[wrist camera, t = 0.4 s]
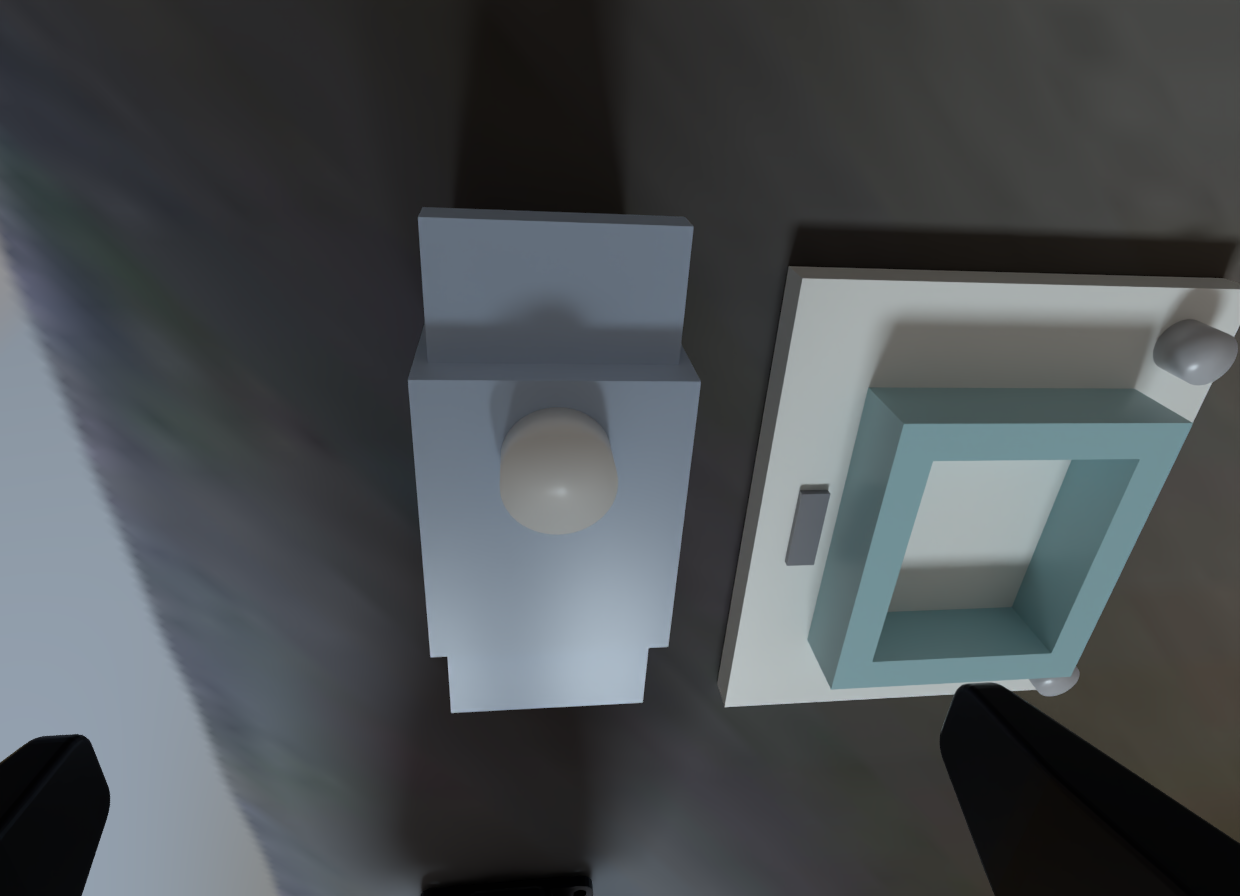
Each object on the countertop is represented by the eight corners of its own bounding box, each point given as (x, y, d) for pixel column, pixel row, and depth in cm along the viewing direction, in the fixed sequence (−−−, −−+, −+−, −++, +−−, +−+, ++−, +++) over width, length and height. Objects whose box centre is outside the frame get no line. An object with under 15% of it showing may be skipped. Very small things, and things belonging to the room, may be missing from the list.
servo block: (609, 494, 21) (665, 764, 13) (462, 496, 20) (433, 779, 13) (632, 148, 17) (733, 254, 9) (445, 138, 16) (386, 243, 8)
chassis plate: (1047, 666, 27) (1104, 735, 24) (717, 683, 25) (740, 759, 22) (1224, 278, 20) (1330, 316, 17) (788, 265, 18) (834, 306, 16)
